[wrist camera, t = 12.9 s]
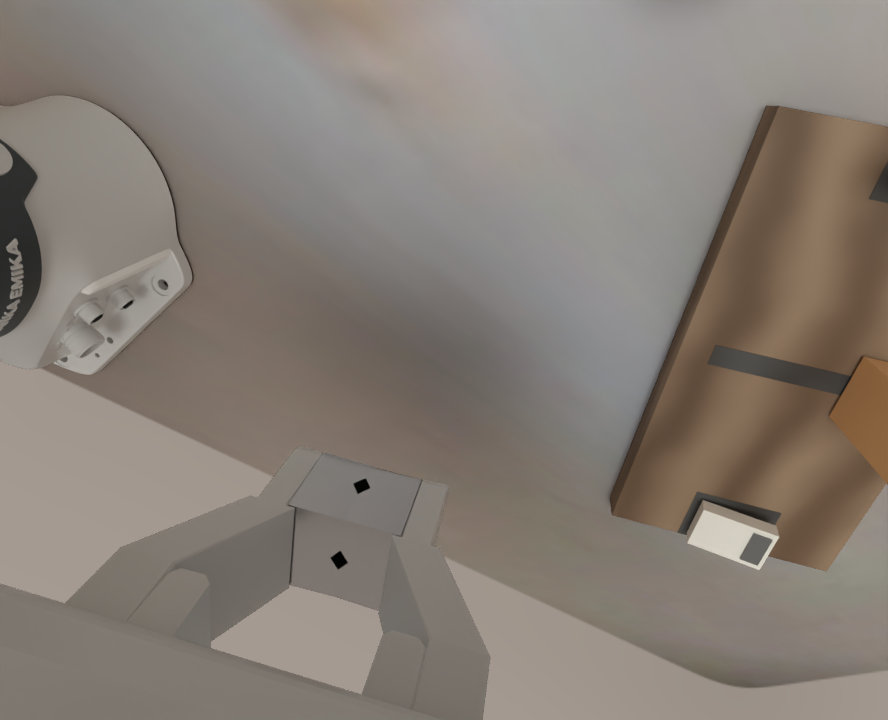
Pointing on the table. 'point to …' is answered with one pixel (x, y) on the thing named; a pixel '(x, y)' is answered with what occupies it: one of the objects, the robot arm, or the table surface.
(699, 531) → the block
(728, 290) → the panel
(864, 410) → the orange rectangular block
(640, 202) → the table surface
